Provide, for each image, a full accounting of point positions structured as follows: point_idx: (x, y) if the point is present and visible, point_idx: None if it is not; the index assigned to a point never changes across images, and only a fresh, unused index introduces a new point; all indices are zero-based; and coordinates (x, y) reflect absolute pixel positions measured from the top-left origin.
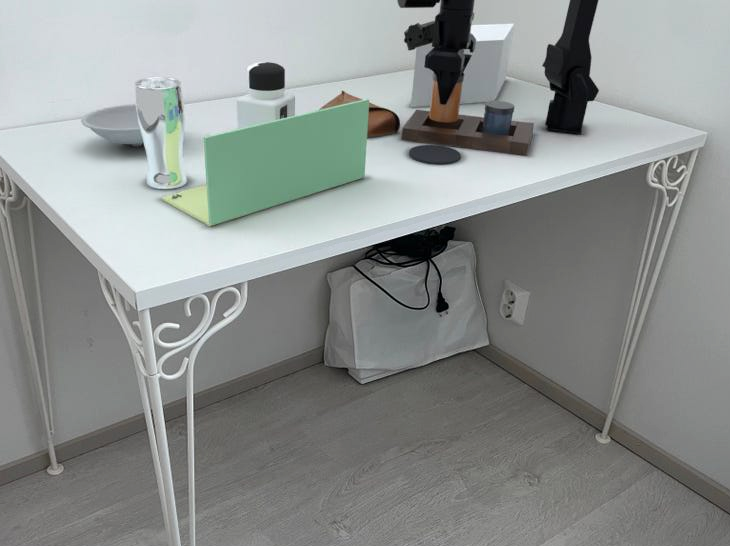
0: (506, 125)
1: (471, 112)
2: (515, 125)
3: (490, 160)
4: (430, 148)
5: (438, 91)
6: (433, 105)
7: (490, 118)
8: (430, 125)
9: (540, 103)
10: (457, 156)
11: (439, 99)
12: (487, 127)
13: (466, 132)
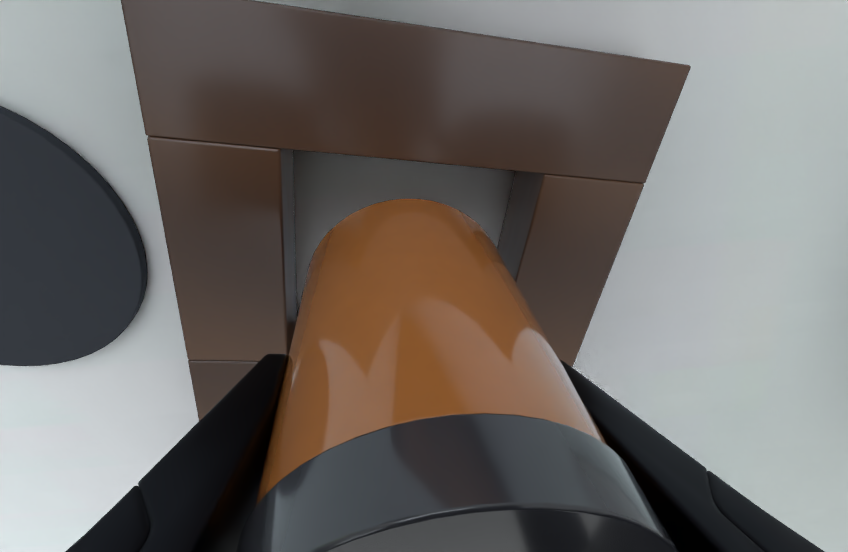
0: None
1: (773, 333)
2: None
3: (104, 451)
4: (42, 218)
5: (189, 432)
6: (325, 279)
7: None
8: (517, 173)
9: (837, 501)
10: (9, 355)
11: (246, 374)
12: None
13: None
